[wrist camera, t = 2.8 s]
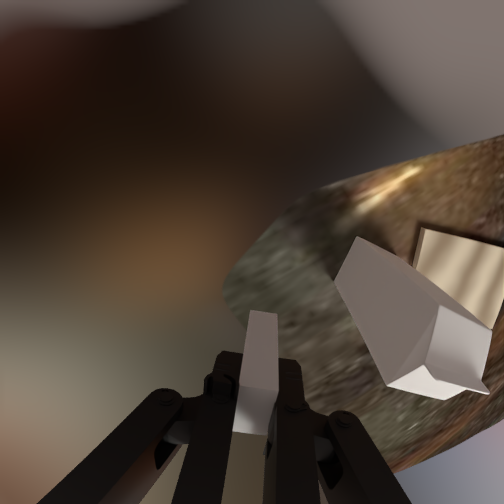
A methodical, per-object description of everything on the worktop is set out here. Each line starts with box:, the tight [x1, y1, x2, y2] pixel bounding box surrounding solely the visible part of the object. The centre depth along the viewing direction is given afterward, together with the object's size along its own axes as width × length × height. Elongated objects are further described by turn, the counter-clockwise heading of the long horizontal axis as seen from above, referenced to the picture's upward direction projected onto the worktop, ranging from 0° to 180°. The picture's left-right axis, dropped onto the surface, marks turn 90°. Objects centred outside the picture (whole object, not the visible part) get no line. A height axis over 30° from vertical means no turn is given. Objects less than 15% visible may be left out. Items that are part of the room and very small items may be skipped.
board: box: [412, 227, 504, 329], centre depth 32 cm, size 18×12×1 cm, turn 82°
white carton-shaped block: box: [334, 236, 492, 400], centre depth 23 cm, size 6×6×22 cm
